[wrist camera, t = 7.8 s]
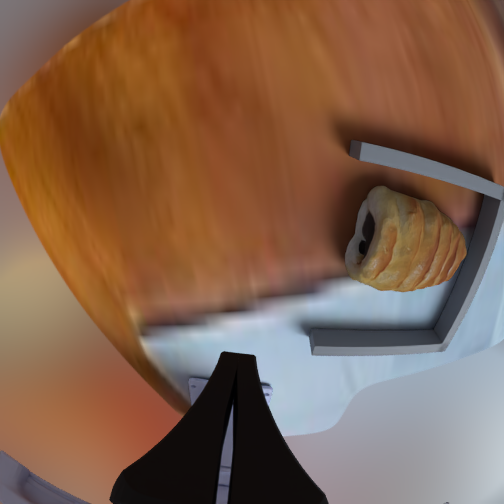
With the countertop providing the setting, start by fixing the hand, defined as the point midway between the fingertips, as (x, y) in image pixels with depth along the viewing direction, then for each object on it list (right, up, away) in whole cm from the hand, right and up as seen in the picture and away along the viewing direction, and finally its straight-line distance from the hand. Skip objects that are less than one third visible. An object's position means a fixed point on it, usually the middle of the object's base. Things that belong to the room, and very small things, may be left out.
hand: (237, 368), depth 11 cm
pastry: (+11, +6, +7) cm, 14 cm away
